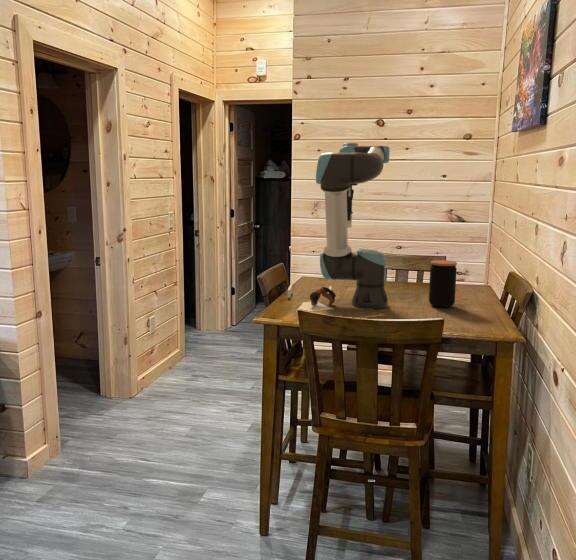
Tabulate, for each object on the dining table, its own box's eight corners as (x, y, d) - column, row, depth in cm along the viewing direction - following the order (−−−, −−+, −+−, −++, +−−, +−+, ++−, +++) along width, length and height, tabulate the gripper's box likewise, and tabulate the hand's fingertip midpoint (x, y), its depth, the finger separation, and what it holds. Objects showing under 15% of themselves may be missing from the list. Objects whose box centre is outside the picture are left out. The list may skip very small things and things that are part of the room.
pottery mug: (318, 301, 236) (328, 285, 234) (331, 314, 231) (342, 298, 228) (300, 299, 227) (310, 283, 225) (314, 312, 222) (324, 296, 219)
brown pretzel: (289, 293, 252) (289, 285, 251) (331, 294, 250) (331, 285, 249) (287, 299, 240) (287, 290, 239) (331, 300, 238) (331, 291, 238)
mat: (334, 309, 222) (334, 308, 222) (298, 313, 215) (298, 312, 215) (315, 301, 236) (315, 301, 236) (281, 304, 229) (281, 304, 229)
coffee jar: (459, 306, 227) (461, 263, 224) (434, 307, 225) (437, 264, 222) (447, 301, 237) (450, 259, 234) (424, 301, 235) (426, 260, 232)
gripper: (341, 177, 263) (340, 226, 267) (341, 176, 250) (340, 228, 254) (357, 177, 262) (356, 226, 266) (358, 176, 250) (357, 228, 254)
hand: (348, 227), depth 260 cm, fingers closed
